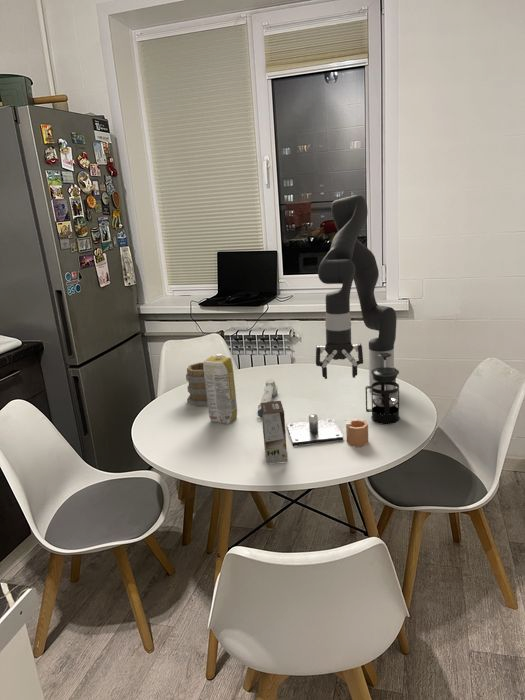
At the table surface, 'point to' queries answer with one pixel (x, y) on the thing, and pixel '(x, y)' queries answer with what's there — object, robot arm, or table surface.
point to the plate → (314, 431)
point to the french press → (384, 395)
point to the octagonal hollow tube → (357, 432)
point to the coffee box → (274, 432)
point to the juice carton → (220, 389)
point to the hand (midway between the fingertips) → (339, 377)
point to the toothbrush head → (268, 393)
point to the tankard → (196, 385)
